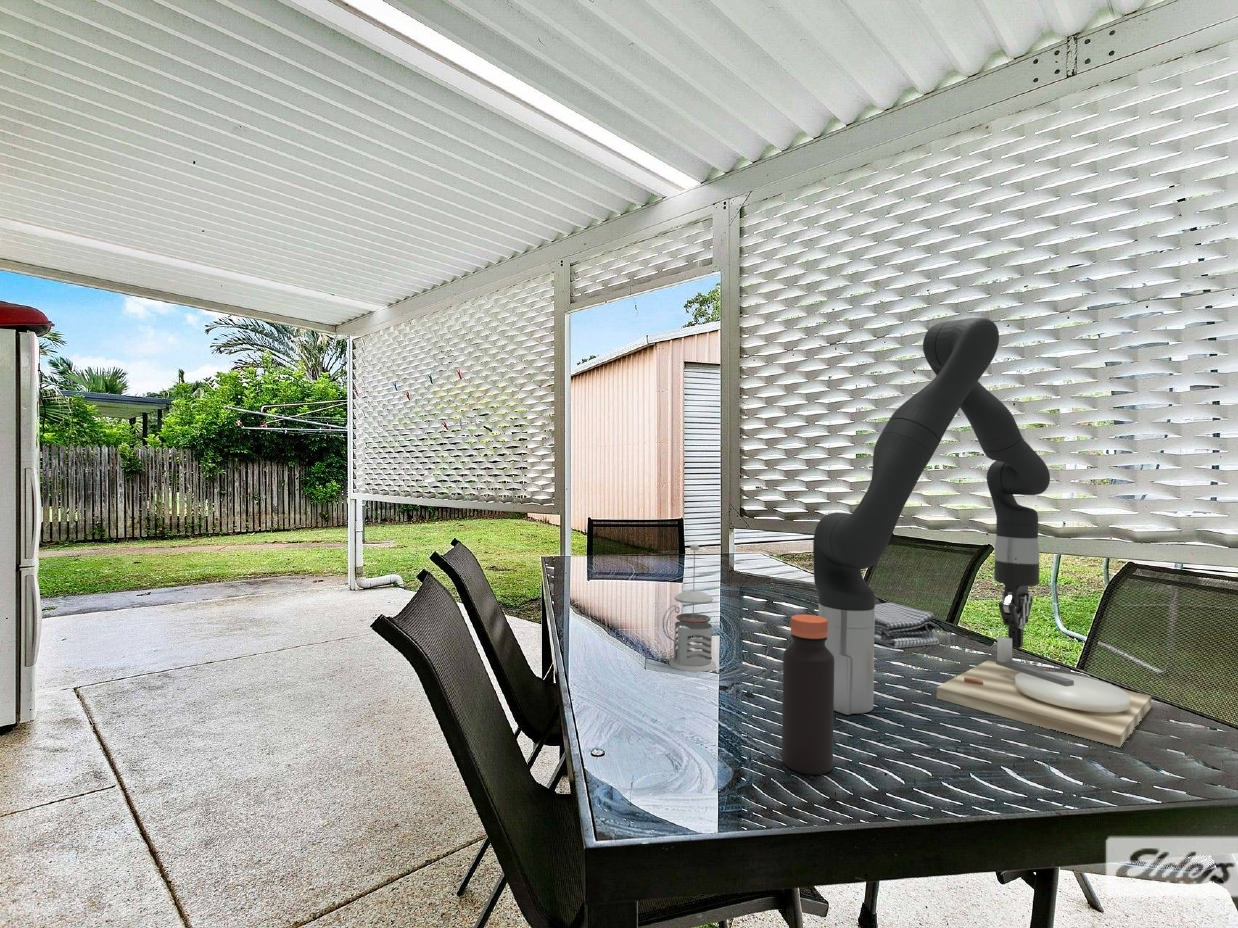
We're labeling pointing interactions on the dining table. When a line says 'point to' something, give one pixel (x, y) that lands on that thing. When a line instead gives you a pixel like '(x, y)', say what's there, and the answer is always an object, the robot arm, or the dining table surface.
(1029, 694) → the dial
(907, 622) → the towel
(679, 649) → the french press
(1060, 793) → the dining table surface
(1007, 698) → the cutting board
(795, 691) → the bottle
